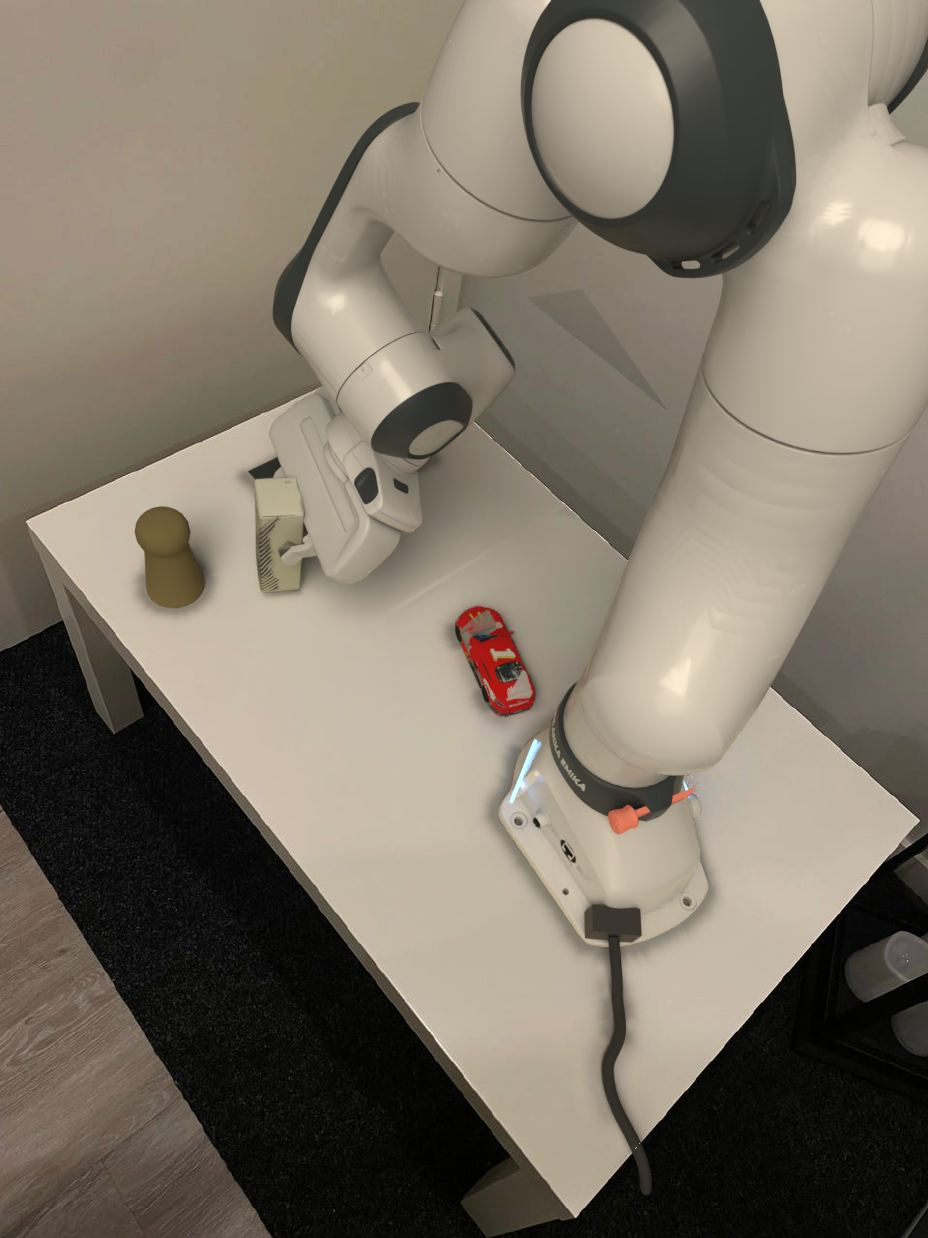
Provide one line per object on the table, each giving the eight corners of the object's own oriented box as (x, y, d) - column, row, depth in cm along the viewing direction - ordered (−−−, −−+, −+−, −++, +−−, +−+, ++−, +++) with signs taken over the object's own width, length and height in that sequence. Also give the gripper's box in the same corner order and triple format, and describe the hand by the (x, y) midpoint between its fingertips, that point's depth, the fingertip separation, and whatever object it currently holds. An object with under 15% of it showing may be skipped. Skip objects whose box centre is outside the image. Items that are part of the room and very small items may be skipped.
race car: (447, 620, 96) (452, 600, 93) (492, 609, 98) (498, 589, 94) (490, 724, 90) (497, 706, 87) (537, 711, 91) (546, 693, 88)
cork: (210, 566, 95) (199, 502, 86) (196, 612, 92) (183, 550, 83) (155, 557, 95) (138, 492, 86) (138, 603, 91) (118, 539, 82)
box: (255, 556, 95) (252, 475, 84) (295, 553, 96) (297, 472, 86) (260, 596, 92) (258, 517, 82) (302, 592, 93) (305, 513, 83)
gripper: (314, 360, 85) (223, 449, 90) (387, 518, 76) (281, 607, 81) (356, 387, 90) (267, 469, 95) (428, 537, 81) (326, 619, 86)
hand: (274, 534), depth 88 cm, fingers closed on box, 5 cm apart
